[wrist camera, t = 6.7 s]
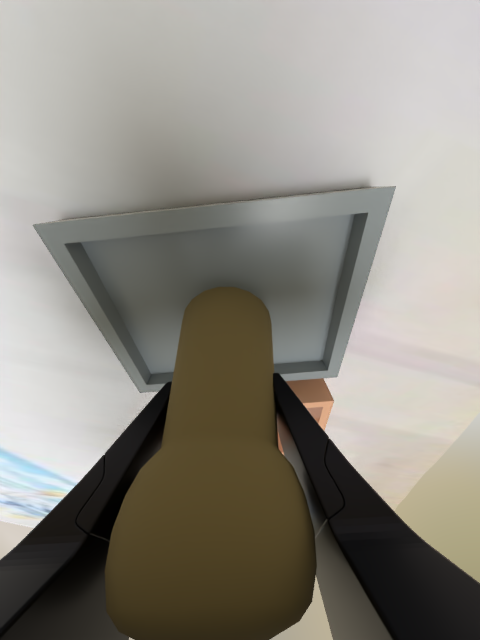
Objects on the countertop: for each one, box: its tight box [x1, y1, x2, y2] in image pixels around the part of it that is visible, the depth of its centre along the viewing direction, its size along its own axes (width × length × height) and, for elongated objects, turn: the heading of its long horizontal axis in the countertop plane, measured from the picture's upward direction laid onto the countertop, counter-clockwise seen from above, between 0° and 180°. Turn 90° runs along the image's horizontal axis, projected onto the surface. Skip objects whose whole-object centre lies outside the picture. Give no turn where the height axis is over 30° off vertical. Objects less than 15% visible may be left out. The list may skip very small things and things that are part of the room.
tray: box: [33, 186, 396, 393], centre depth 14 cm, size 18×14×2 cm
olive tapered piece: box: [105, 287, 317, 640], centre depth 8 cm, size 6×6×11 cm
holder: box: [278, 378, 334, 455], centre depth 21 cm, size 11×11×4 cm
